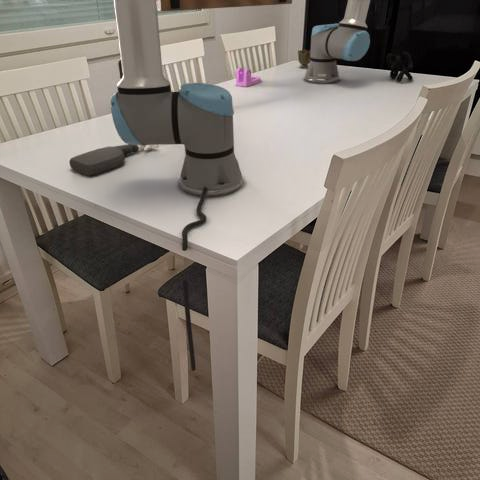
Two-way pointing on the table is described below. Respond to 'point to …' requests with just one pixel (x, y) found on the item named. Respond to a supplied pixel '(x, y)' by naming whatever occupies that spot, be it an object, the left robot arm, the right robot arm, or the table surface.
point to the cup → (304, 58)
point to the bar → (214, 4)
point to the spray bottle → (104, 158)
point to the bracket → (245, 78)
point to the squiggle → (399, 66)
